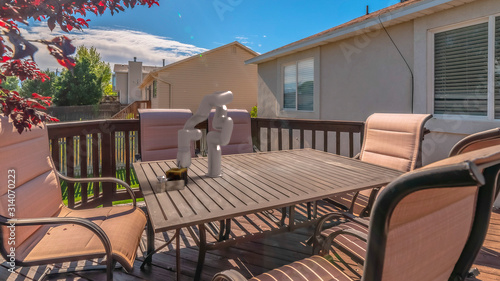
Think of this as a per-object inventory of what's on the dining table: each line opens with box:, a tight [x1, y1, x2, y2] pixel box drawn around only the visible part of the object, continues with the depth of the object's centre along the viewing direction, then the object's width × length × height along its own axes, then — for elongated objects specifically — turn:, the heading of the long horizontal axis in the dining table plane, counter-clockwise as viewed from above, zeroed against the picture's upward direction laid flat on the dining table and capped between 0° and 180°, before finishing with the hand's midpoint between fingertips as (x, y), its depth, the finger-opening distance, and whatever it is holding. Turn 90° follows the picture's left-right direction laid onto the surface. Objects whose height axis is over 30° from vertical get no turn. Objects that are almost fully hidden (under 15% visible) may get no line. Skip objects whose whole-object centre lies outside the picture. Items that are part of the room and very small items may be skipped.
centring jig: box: [156, 177, 185, 194], centre depth 168 cm, size 13×16×5 cm
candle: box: [165, 167, 189, 187], centre depth 176 cm, size 10×10×10 cm
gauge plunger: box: [156, 175, 172, 183], centre depth 166 cm, size 11×4×4 cm, turn 156°
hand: (184, 177), depth 183 cm, fingers closed
